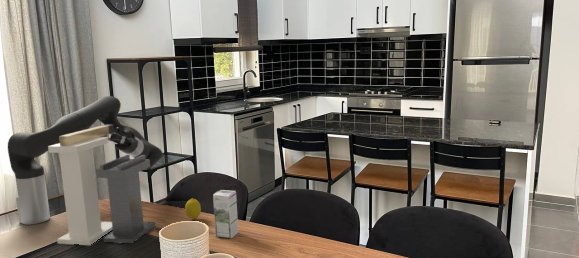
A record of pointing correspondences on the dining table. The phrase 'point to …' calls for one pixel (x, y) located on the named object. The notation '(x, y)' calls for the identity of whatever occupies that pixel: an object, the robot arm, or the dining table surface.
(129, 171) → the holder
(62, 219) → the dining table surface
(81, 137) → the bar
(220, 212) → the syrup box
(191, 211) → the lemon
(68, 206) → the white i-beam pedestal
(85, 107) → the robot arm
